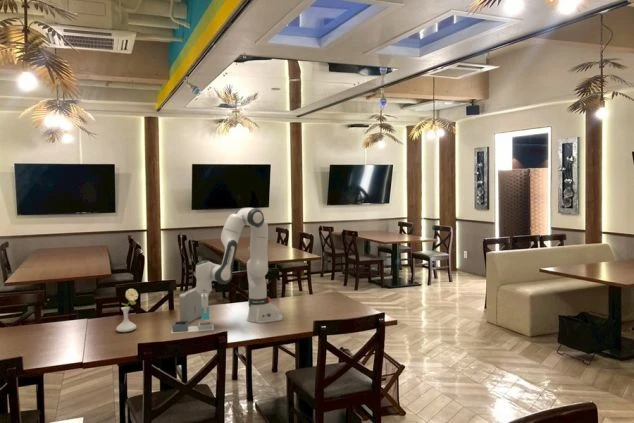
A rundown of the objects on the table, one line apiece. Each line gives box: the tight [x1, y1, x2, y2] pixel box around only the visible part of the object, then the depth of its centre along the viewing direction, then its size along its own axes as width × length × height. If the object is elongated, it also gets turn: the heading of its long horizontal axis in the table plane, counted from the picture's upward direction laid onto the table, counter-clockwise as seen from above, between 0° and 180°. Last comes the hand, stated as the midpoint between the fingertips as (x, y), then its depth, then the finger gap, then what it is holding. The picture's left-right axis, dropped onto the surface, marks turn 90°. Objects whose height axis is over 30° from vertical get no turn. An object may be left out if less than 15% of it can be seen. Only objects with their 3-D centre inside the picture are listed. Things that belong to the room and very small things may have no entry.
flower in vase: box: [115, 288, 139, 333], centre depth 292 cm, size 13×11×25 cm
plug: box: [201, 303, 210, 321], centre depth 290 cm, size 4×4×8 cm
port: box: [171, 320, 189, 333], centre depth 287 cm, size 8×8×4 cm
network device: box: [178, 286, 202, 324], centre depth 308 cm, size 26×9×20 cm, turn 168°
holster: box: [197, 321, 213, 331], centre depth 290 cm, size 8×8×2 cm
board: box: [170, 324, 215, 334], centre depth 288 cm, size 24×11×2 cm, turn 103°
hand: (205, 311), depth 290 cm, fingers closed on plug, 4 cm apart
